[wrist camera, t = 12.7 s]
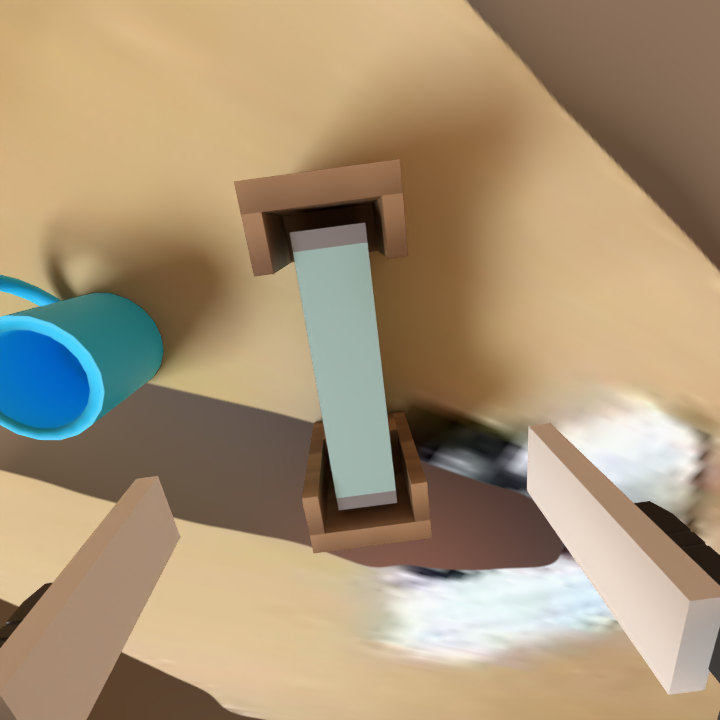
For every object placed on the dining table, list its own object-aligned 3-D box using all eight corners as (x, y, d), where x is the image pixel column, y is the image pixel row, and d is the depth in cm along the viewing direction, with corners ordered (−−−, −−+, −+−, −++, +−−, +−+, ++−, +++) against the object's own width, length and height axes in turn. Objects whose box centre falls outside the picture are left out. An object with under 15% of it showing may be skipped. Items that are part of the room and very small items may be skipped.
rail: (301, 231, 26) (289, 232, 20) (360, 223, 26) (365, 222, 20) (339, 459, 32) (338, 510, 26) (387, 453, 32) (397, 502, 26)
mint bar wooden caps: (271, 197, 28) (233, 181, 18) (381, 182, 28) (399, 159, 18) (321, 466, 35) (313, 553, 26) (408, 454, 35) (431, 537, 26)
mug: (184, 344, 31) (131, 382, 24) (123, 408, 33) (55, 463, 25) (52, 230, 28) (-58, 231, 20) (-8, 307, 30) (-132, 334, 22)
